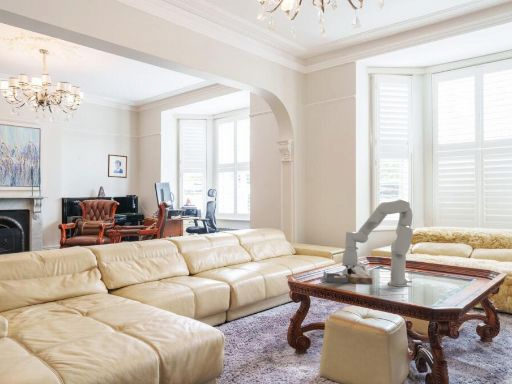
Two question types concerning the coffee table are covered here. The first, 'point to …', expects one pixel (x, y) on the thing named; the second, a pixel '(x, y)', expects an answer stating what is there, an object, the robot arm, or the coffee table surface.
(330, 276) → the box
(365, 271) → the mask
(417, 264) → the coffee table surface
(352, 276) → the plate
